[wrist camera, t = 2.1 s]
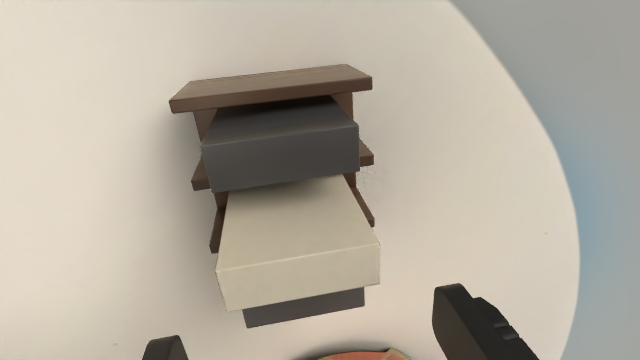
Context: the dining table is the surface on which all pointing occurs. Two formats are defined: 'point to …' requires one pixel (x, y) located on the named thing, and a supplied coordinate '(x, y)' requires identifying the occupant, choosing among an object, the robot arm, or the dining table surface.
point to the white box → (294, 243)
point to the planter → (368, 356)
